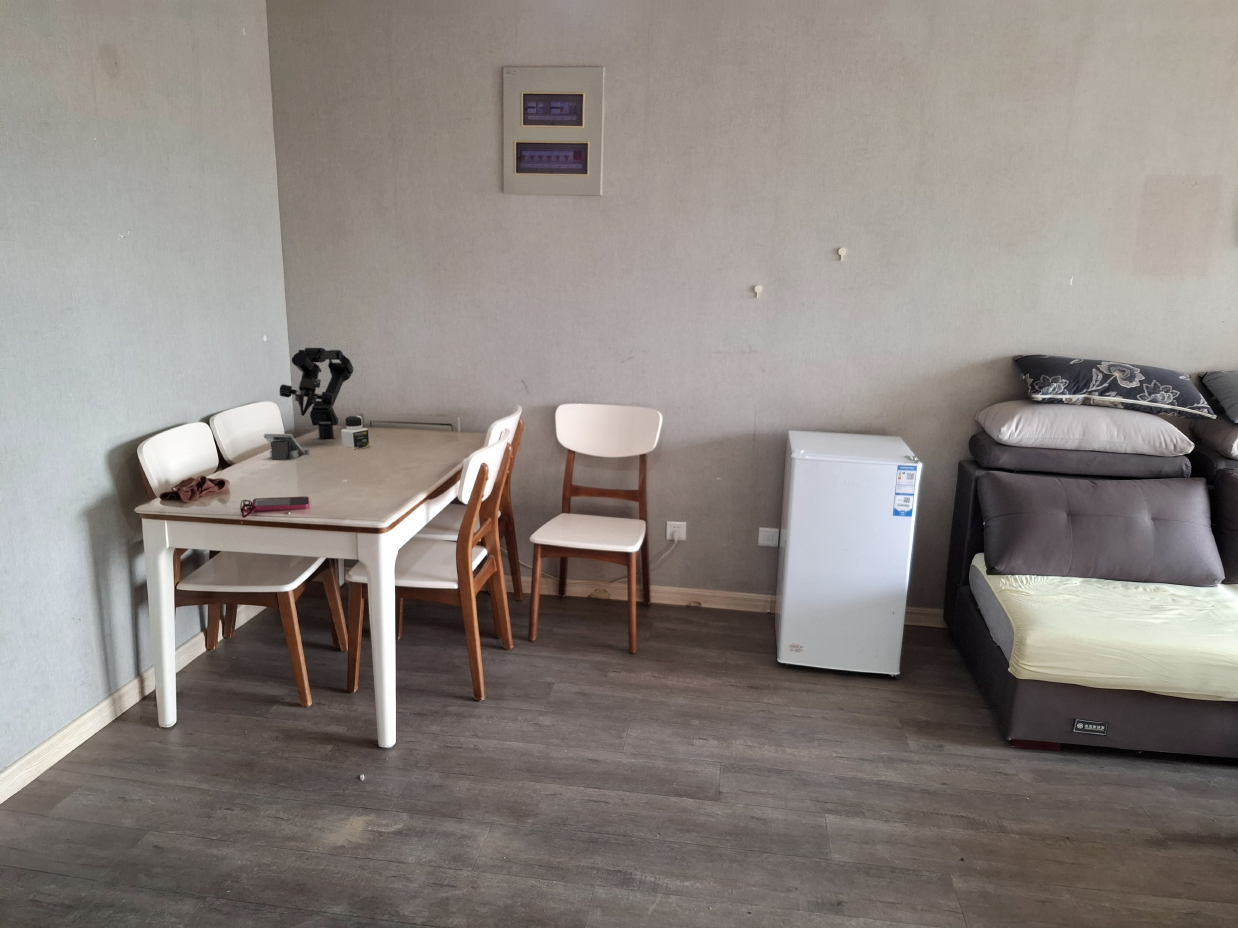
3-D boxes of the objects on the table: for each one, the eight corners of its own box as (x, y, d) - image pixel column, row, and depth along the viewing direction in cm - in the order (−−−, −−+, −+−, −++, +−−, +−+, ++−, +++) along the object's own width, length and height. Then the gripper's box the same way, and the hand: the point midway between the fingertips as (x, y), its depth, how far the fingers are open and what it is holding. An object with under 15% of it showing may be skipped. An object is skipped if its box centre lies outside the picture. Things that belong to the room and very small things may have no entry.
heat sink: (274, 453, 303) (272, 436, 302) (309, 454, 302) (307, 436, 301) (261, 460, 294) (259, 441, 293) (297, 460, 293) (295, 442, 291)
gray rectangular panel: (278, 453, 303) (279, 451, 303) (304, 454, 302) (305, 451, 302) (263, 436, 292) (264, 433, 293) (290, 437, 291) (291, 434, 292)
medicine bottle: (354, 450, 312) (351, 419, 309) (342, 448, 316) (339, 417, 313) (369, 446, 318) (367, 416, 315) (357, 444, 322) (355, 414, 319)
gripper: (283, 364, 305) (275, 403, 300) (336, 374, 311) (329, 412, 306) (283, 376, 315) (276, 414, 310) (334, 385, 321) (328, 422, 316)
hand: (302, 415), depth 310 cm, fingers closed
